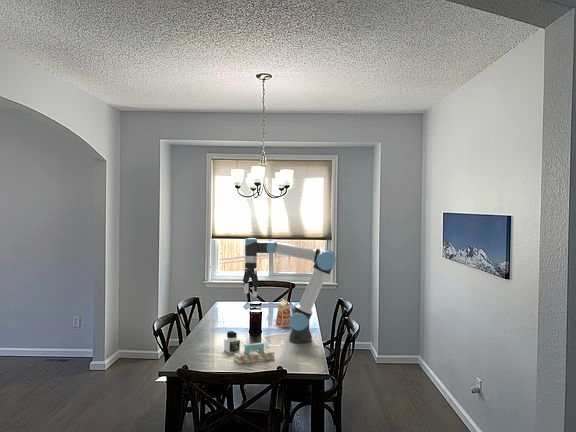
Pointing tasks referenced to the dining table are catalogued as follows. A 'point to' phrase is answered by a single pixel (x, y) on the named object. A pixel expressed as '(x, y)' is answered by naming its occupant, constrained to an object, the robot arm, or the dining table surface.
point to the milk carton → (283, 314)
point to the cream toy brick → (253, 356)
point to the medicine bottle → (231, 342)
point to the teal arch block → (254, 347)
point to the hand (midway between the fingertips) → (250, 295)
